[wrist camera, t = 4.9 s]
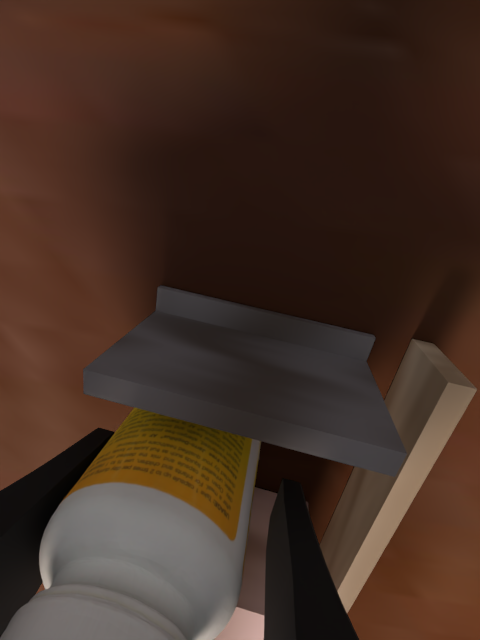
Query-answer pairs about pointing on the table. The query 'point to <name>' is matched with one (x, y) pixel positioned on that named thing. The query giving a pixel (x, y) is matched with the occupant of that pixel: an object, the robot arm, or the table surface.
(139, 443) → the supplement bottle
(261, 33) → the table surface
